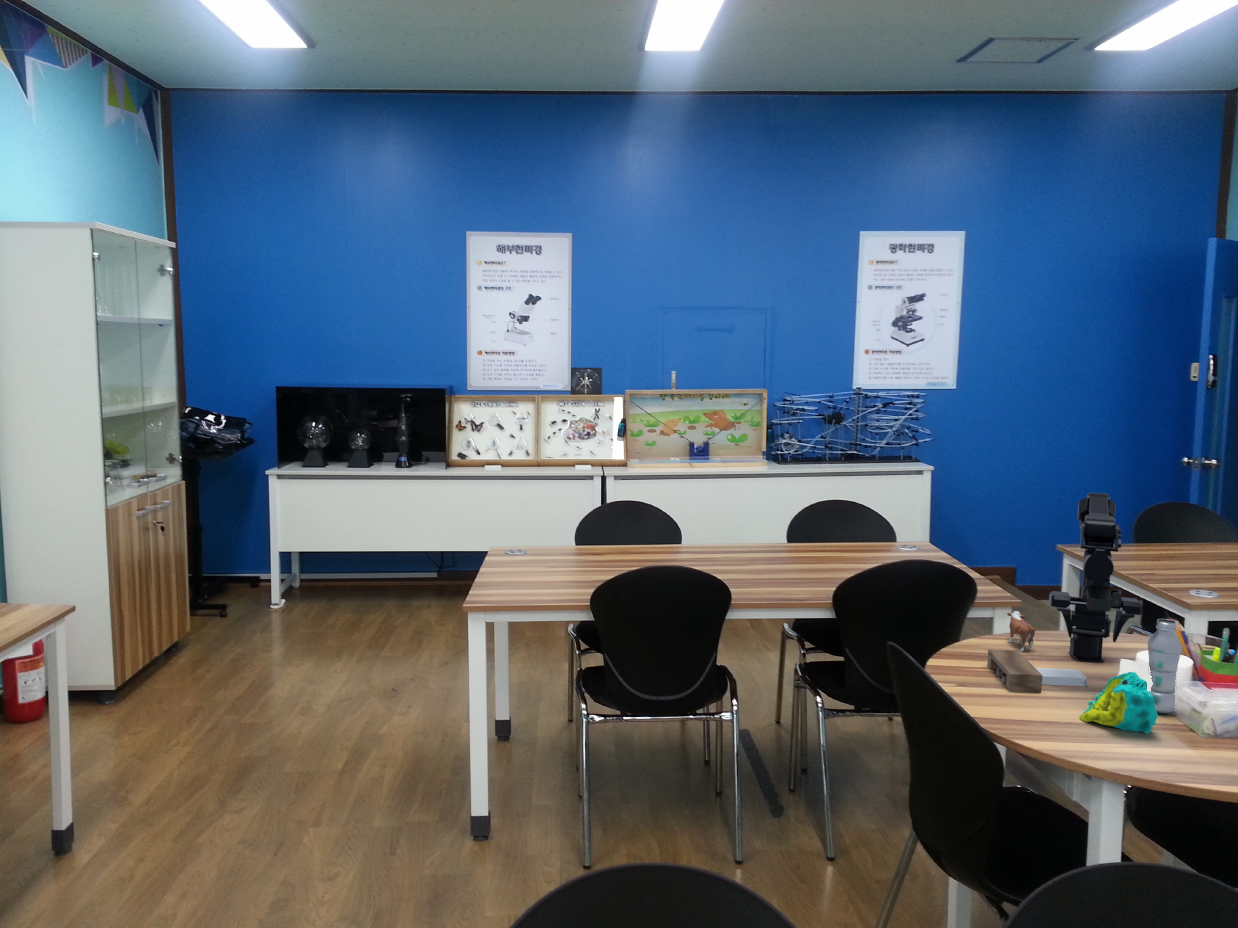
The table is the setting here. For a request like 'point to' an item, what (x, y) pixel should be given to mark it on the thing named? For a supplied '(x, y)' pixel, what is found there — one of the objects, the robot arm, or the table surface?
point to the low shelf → (1015, 671)
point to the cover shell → (1062, 677)
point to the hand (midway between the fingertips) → (1091, 639)
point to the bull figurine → (1021, 630)
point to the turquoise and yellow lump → (1123, 705)
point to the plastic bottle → (1164, 664)
